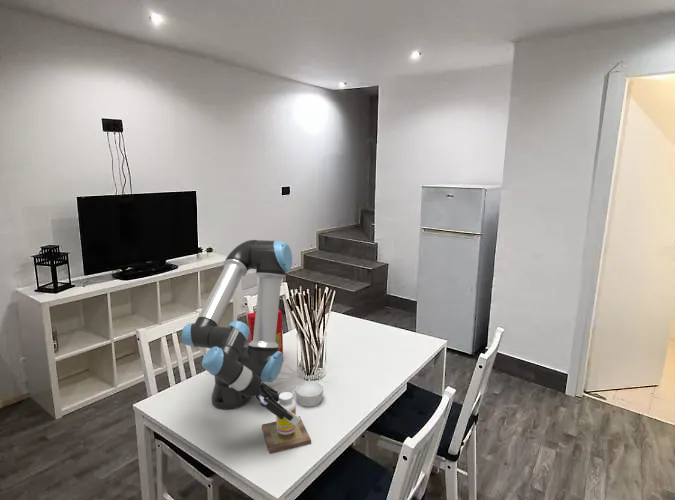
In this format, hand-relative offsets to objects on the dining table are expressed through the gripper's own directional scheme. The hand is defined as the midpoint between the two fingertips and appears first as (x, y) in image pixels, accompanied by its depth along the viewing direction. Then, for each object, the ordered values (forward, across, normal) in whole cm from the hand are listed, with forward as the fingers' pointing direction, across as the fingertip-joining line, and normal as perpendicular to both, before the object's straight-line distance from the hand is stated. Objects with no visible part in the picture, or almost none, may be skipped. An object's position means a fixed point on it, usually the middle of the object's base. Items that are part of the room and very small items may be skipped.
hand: (295, 415), depth 143 cm
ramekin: (+13, -18, +2) cm, 22 cm away
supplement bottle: (+1, 0, -6) cm, 6 cm away
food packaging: (+5, -55, -5) cm, 56 cm away
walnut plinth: (+3, 0, -7) cm, 8 cm away
